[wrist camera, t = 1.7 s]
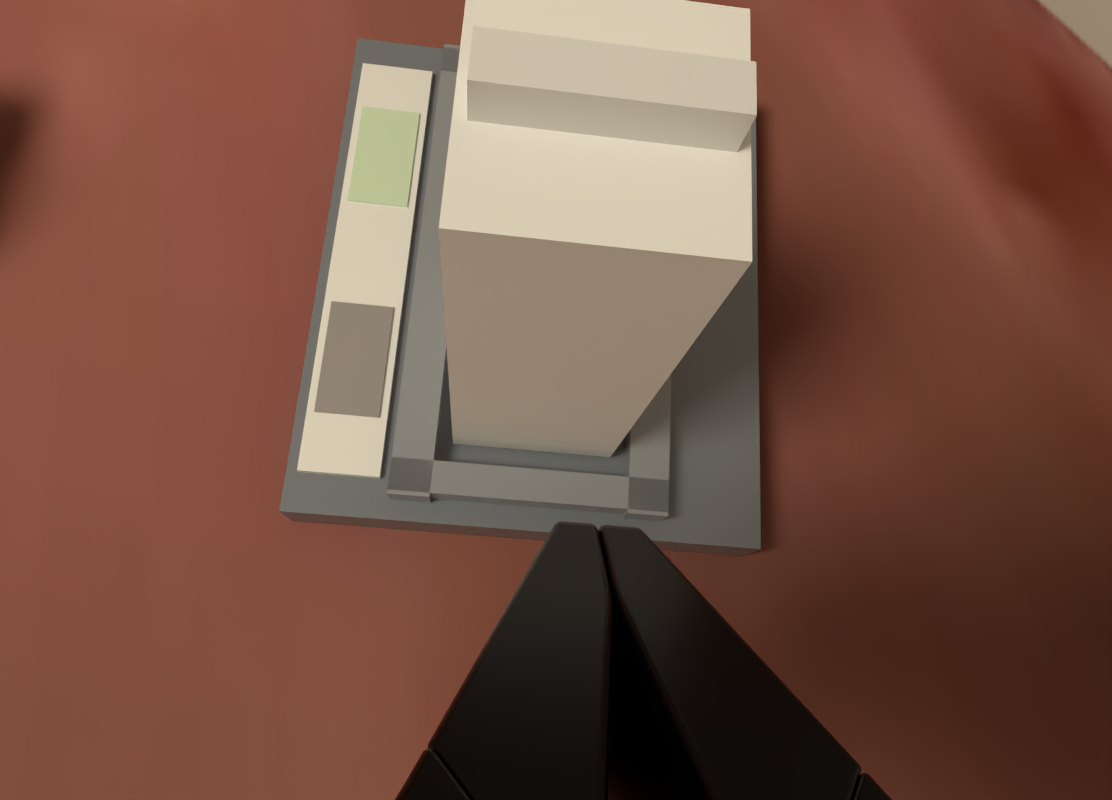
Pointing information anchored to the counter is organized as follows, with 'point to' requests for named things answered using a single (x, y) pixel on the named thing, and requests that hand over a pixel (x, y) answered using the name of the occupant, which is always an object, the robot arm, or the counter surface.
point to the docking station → (422, 368)
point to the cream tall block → (589, 210)
